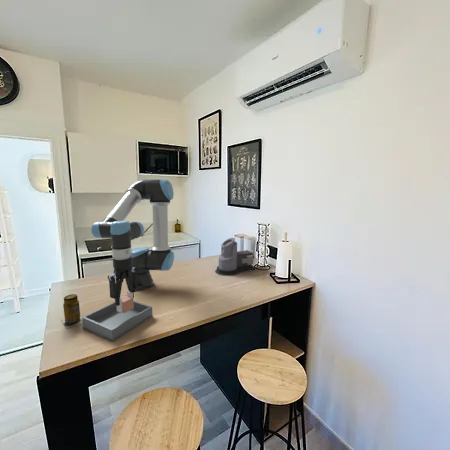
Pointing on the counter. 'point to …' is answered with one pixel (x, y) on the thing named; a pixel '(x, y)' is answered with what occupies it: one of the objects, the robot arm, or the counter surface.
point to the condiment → (71, 311)
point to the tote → (116, 320)
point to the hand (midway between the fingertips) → (125, 308)
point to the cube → (127, 303)
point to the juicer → (233, 259)
